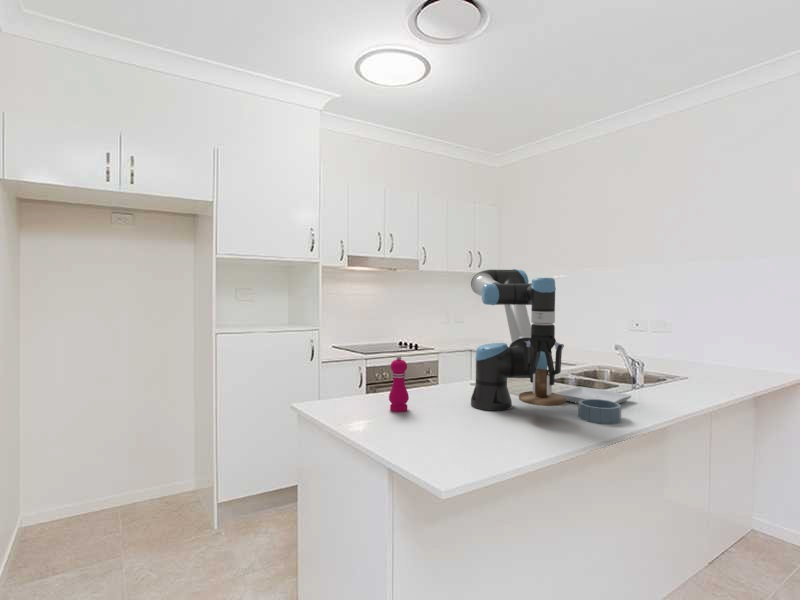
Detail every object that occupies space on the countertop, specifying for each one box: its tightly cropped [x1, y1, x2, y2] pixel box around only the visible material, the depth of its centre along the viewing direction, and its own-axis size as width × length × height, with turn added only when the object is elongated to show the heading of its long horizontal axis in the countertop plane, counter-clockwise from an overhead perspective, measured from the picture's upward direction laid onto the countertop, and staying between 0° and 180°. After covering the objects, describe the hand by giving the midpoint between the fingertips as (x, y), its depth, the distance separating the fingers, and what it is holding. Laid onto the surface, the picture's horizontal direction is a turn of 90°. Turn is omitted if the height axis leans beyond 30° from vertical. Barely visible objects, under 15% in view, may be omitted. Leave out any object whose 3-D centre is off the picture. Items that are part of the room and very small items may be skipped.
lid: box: [518, 368, 567, 407], centre depth 152 cm, size 15×15×10 cm
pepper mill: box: [388, 354, 410, 413], centre depth 166 cm, size 7×7×20 cm
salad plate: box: [556, 386, 632, 404], centre depth 179 cm, size 21×21×3 cm
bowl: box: [577, 399, 622, 425], centre depth 155 cm, size 13×13×5 cm
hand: (542, 393), depth 153 cm, fingers closed on lid, 4 cm apart
